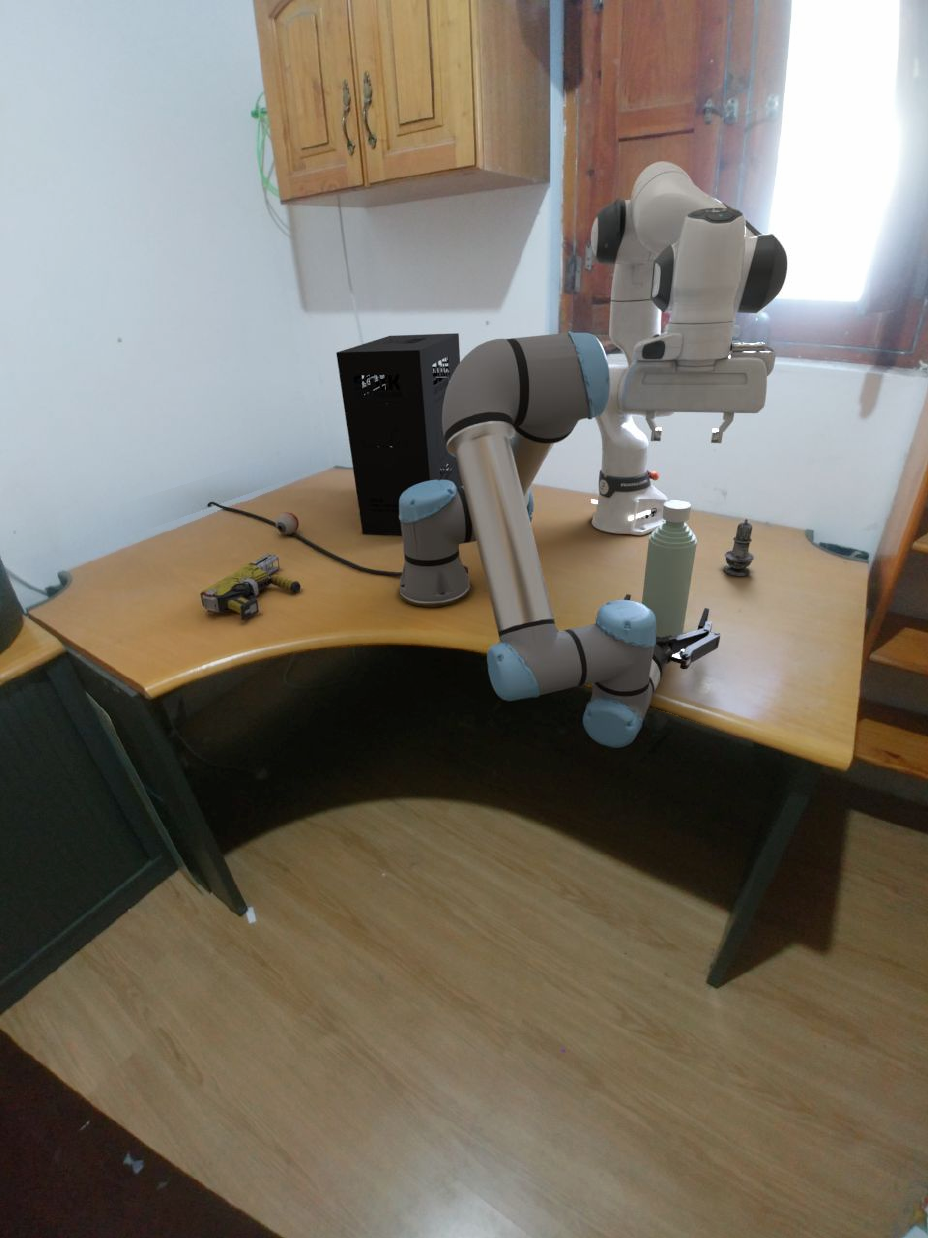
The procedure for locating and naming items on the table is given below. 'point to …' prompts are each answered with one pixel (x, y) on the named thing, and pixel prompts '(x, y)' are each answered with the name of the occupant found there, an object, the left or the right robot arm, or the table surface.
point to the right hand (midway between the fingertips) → (685, 441)
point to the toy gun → (245, 588)
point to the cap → (676, 511)
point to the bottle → (669, 576)
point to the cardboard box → (396, 420)
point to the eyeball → (287, 523)
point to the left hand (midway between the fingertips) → (666, 607)
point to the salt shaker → (740, 551)
